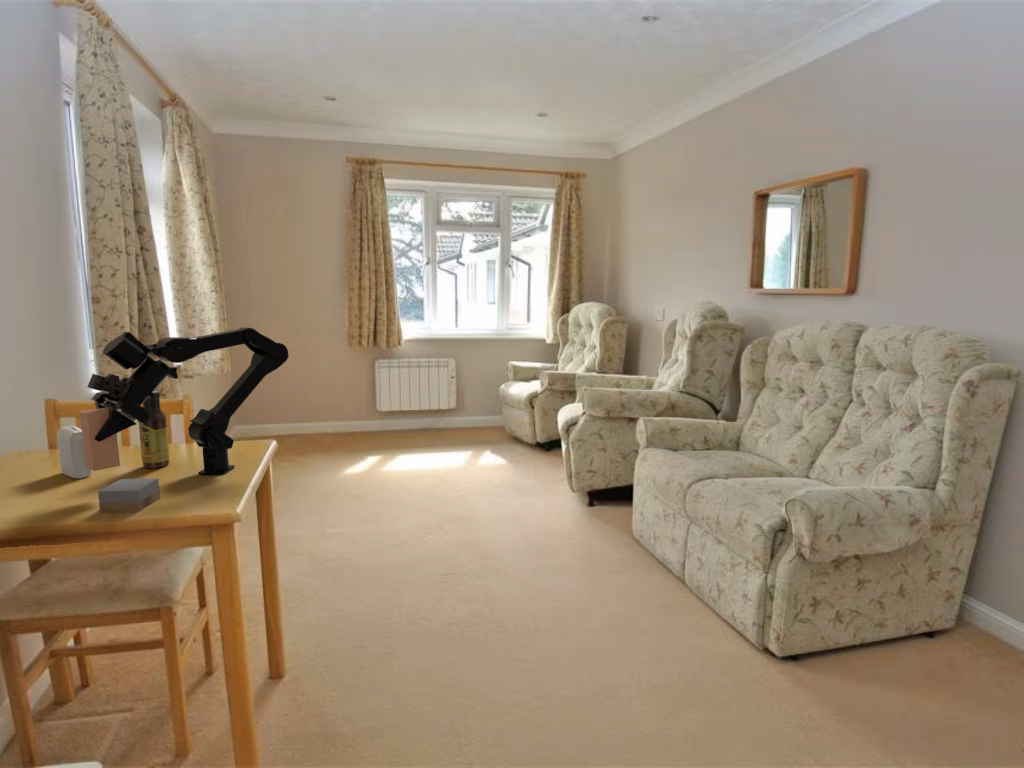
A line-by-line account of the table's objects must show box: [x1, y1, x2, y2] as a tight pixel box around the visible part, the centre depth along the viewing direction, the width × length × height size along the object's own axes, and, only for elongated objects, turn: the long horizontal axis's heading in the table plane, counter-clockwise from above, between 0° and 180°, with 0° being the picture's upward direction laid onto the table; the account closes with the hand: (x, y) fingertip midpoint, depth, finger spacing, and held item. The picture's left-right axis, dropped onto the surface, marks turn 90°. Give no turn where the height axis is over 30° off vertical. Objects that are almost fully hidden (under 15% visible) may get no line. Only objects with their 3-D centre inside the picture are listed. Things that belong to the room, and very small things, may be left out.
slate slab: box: [97, 477, 160, 504], centre depth 127 cm, size 8×8×2 cm
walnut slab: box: [98, 489, 161, 513], centre depth 127 cm, size 8×8×2 cm
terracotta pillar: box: [79, 408, 121, 472], centre depth 131 cm, size 5×5×12 cm
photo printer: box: [56, 425, 92, 479], centre depth 148 cm, size 10×4×12 cm, turn 53°
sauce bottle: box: [138, 390, 170, 469], centre depth 154 cm, size 7×6×20 cm
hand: (92, 438), depth 129 cm, fingers closed on terracotta pillar, 5 cm apart
